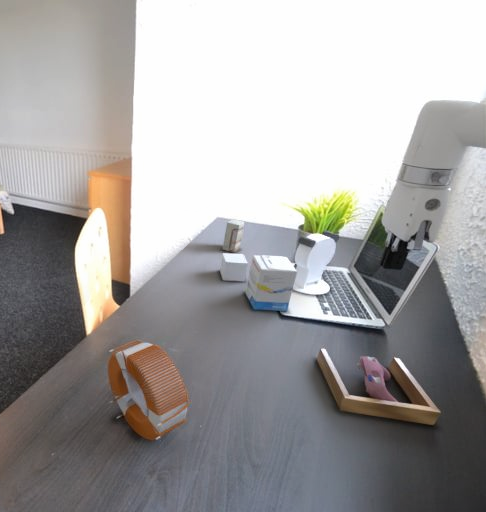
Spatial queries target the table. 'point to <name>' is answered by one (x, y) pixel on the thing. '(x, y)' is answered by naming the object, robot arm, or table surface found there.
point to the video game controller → (375, 378)
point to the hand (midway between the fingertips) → (390, 267)
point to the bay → (416, 412)
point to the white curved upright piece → (313, 262)
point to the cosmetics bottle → (233, 235)
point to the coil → (147, 389)
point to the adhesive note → (233, 267)
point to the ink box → (270, 282)
